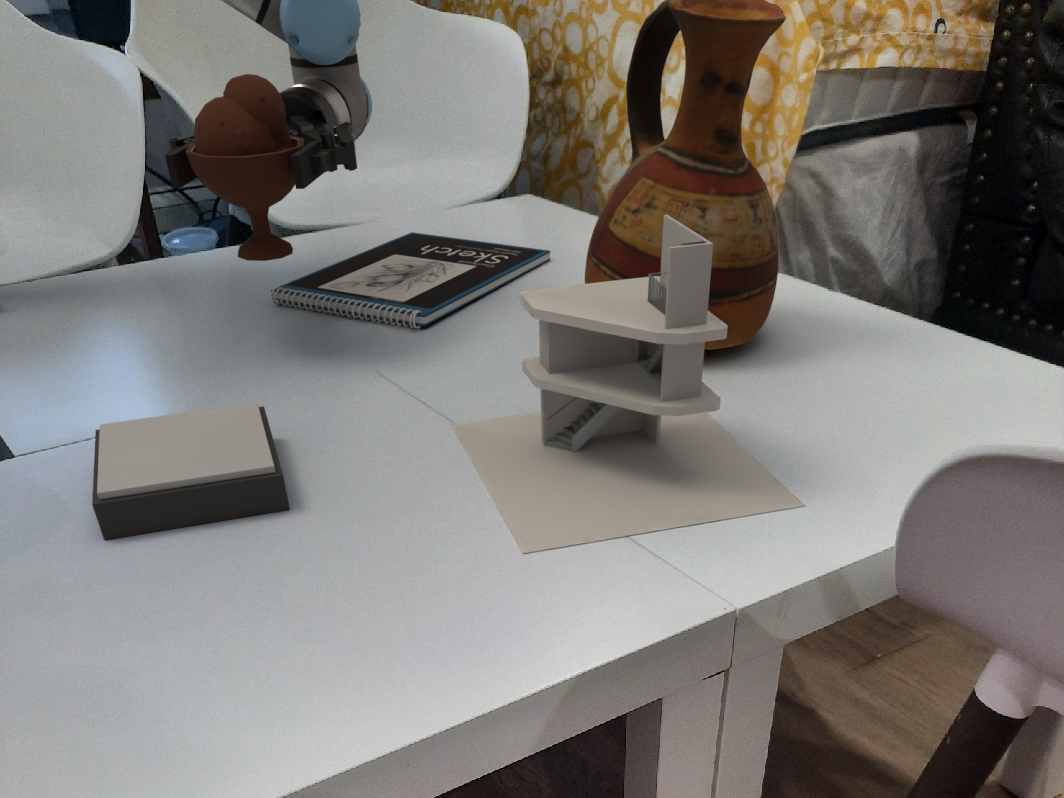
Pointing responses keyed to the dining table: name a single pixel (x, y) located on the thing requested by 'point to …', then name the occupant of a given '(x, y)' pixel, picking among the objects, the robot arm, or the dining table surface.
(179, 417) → the scale
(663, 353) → the architectural model
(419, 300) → the sketchbook
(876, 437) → the dining table surface
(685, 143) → the ceramic pitcher
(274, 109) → the ice cream bowl
